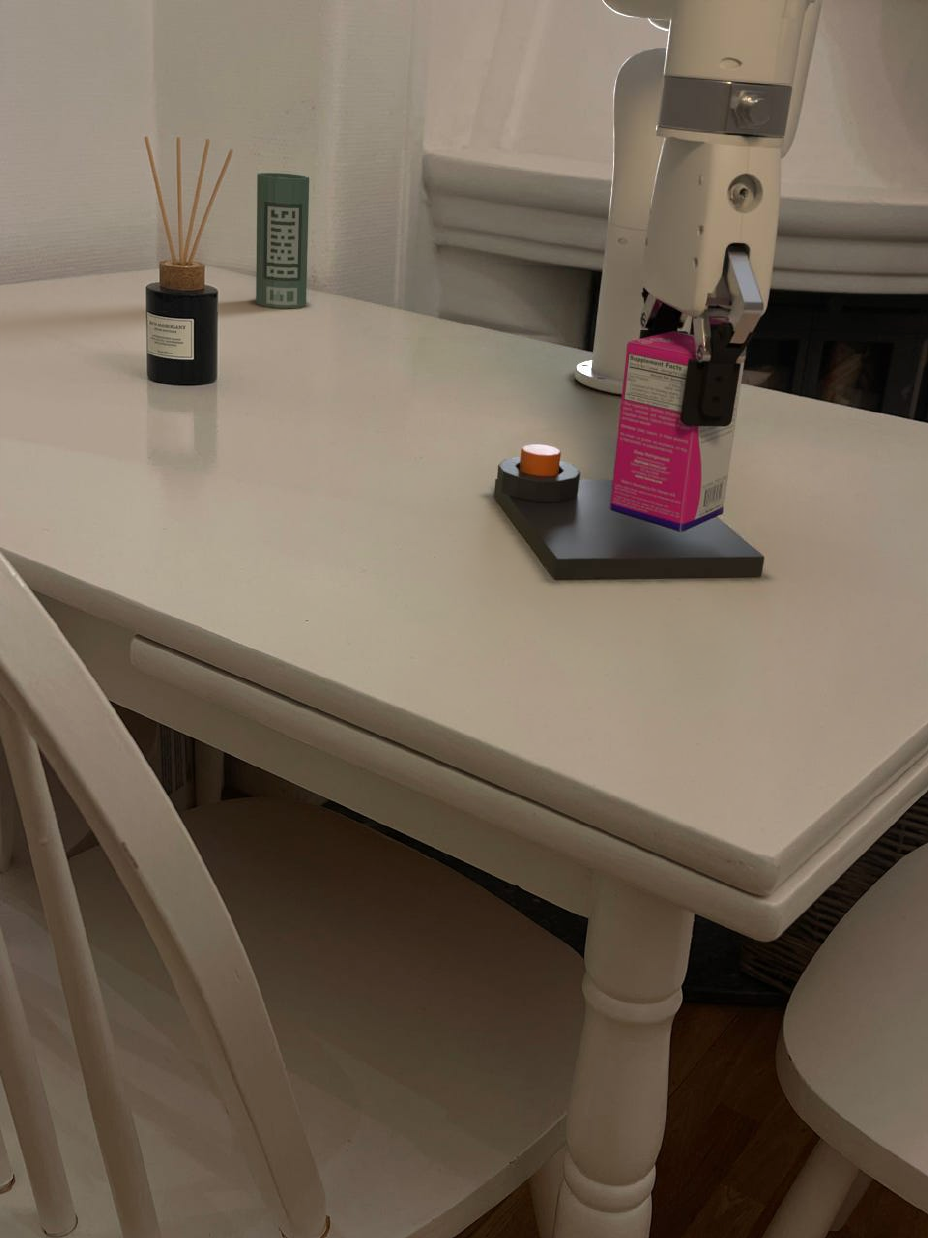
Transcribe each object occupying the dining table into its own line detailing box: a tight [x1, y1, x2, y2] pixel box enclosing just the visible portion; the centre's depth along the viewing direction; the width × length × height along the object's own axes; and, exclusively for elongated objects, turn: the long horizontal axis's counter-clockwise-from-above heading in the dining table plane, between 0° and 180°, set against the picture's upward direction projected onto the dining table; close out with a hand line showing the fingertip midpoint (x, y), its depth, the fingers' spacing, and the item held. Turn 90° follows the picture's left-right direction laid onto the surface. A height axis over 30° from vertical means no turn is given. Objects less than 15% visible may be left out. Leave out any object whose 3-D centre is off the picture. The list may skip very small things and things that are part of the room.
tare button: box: [519, 443, 562, 476], centre depth 89 cm, size 3×3×2 cm
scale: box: [493, 456, 765, 581], centre depth 87 cm, size 16×14×3 cm
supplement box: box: [610, 331, 745, 532], centre depth 82 cm, size 6×6×12 cm
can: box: [255, 172, 310, 309], centre depth 153 cm, size 6×6×15 cm
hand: (679, 405), depth 81 cm, fingers closed on supplement box, 7 cm apart
